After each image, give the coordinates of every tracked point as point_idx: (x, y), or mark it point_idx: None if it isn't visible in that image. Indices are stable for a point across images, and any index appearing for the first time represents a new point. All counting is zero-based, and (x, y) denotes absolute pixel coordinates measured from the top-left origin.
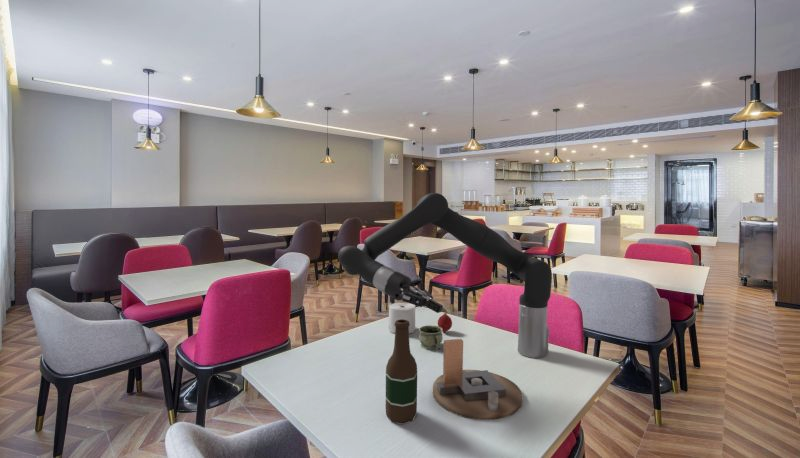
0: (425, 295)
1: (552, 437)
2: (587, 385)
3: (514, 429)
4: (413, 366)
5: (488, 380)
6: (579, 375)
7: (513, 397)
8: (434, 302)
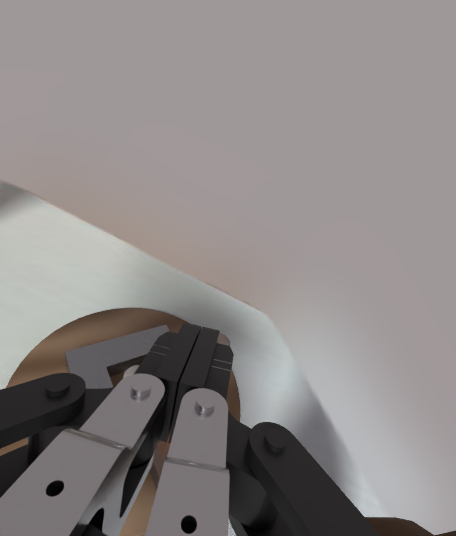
0: (115, 444)
1: (235, 301)
2: (76, 227)
3: (237, 340)
4: (396, 518)
5: (129, 352)
6: (34, 223)
7: (158, 323)
8: (211, 358)
